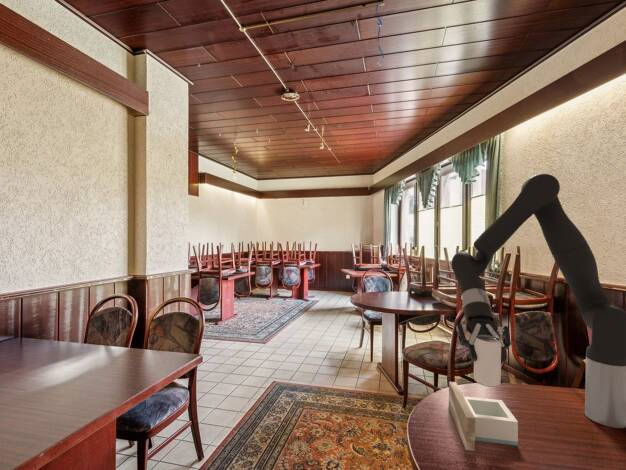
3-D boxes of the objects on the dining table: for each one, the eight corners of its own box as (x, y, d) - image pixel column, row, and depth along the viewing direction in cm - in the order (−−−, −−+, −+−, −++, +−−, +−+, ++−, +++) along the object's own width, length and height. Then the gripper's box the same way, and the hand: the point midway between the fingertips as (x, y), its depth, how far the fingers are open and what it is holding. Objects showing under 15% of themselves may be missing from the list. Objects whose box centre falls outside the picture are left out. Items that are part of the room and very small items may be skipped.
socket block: (501, 421, 94) (501, 400, 94) (517, 445, 83) (518, 421, 83) (460, 416, 96) (460, 396, 96) (470, 439, 85) (471, 416, 85)
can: (505, 387, 86) (506, 342, 86) (480, 387, 87) (481, 341, 86) (492, 376, 93) (493, 334, 93) (469, 376, 93) (470, 334, 93)
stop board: (455, 408, 100) (455, 382, 100) (474, 451, 81) (475, 418, 81) (448, 407, 101) (448, 381, 101) (465, 449, 81) (466, 417, 81)
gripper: (453, 299, 99) (463, 352, 87) (506, 301, 96) (523, 357, 84) (449, 312, 104) (457, 364, 92) (499, 315, 101) (514, 369, 90)
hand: (489, 361), depth 88 cm, fingers closed on can, 6 cm apart
